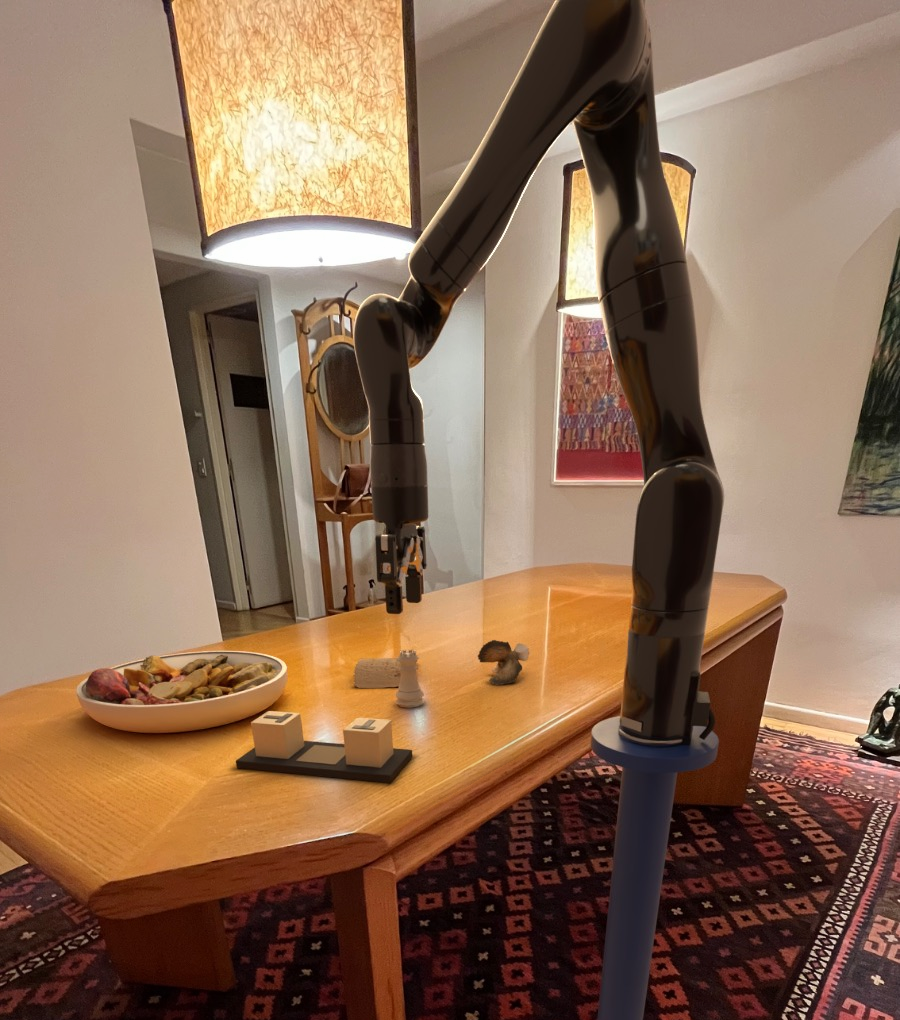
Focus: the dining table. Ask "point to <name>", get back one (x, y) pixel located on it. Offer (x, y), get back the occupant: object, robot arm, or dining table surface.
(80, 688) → the bowl
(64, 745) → the dining table surface
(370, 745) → the tile
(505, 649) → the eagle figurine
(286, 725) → the tile
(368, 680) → the clay tablet
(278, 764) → the word mat
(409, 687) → the rook chess piece
